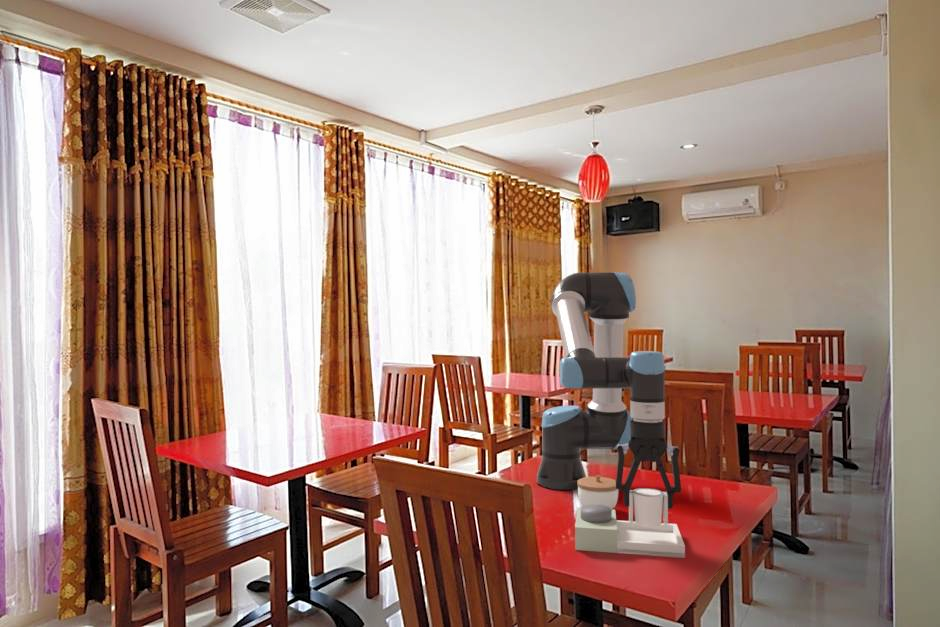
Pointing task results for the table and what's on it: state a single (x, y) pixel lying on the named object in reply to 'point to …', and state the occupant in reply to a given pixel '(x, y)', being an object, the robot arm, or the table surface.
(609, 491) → the lidded jar
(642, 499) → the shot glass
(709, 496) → the table surface
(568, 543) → the table surface
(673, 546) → the knobbed tray panel
